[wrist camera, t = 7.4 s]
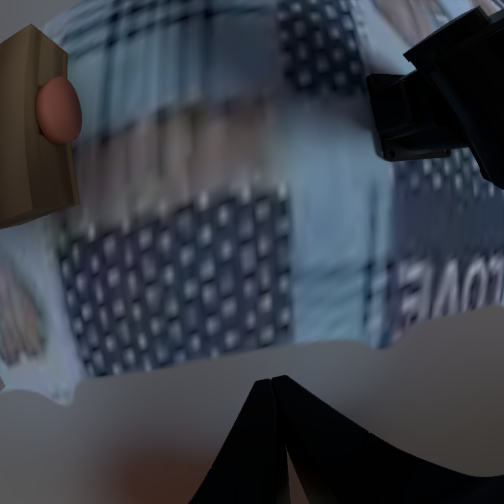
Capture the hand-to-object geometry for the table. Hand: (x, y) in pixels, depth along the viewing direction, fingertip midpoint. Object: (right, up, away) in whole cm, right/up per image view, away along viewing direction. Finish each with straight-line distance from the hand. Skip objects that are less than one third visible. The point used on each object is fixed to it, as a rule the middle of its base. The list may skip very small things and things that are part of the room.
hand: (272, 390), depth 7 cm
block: (-16, +12, +9) cm, 22 cm away
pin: (-17, +12, +8) cm, 22 cm away
